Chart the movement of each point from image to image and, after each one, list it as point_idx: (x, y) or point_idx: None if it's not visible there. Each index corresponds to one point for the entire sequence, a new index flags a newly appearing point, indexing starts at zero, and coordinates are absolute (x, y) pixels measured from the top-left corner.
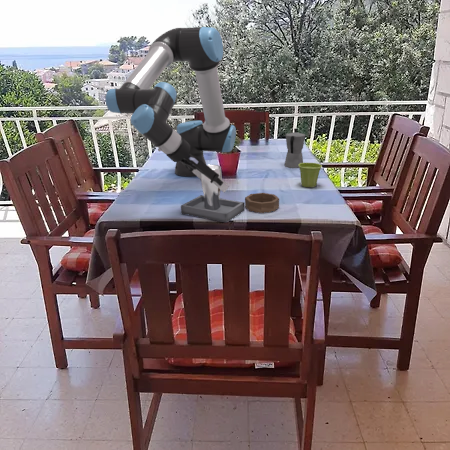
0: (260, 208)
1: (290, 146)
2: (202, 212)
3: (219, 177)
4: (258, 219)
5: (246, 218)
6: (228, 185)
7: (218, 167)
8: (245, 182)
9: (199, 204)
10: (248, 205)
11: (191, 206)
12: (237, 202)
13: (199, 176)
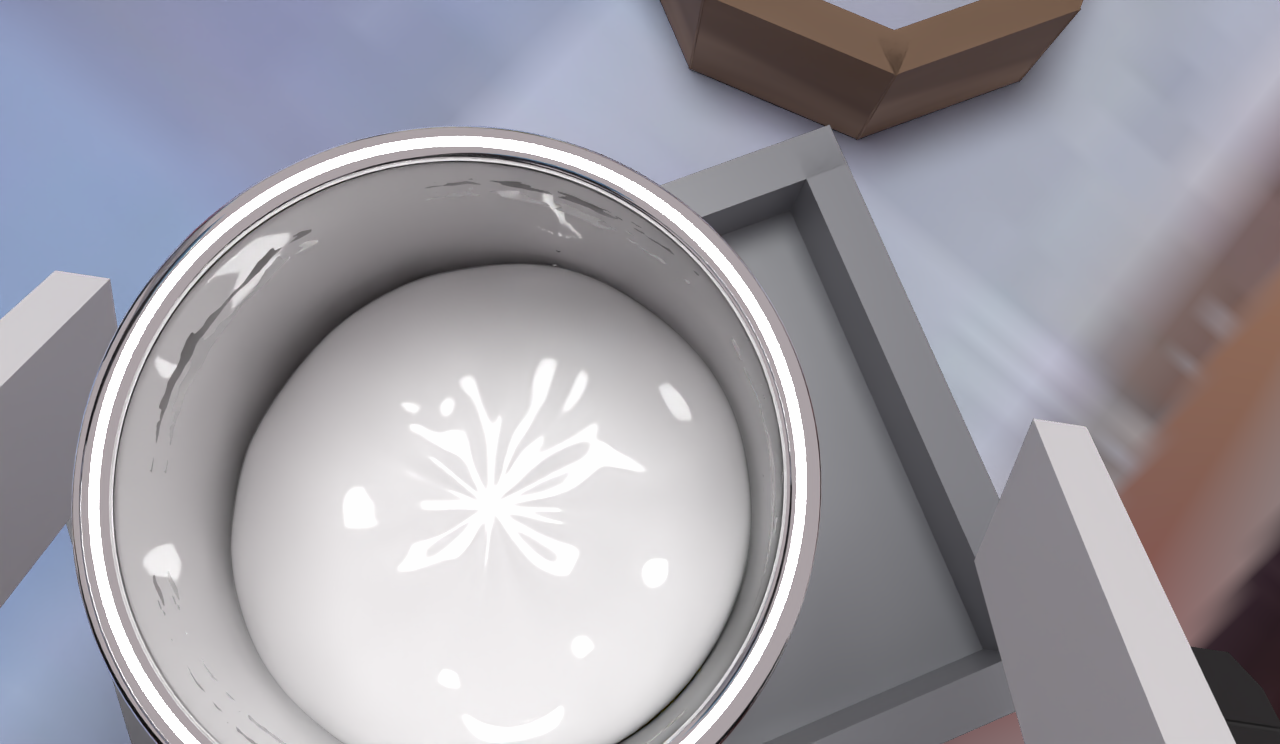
0: (1035, 53)
1: None
2: None
3: (1227, 737)
4: (1177, 259)
5: (1056, 351)
6: (1096, 448)
7: (475, 168)
8: None
9: None
10: (843, 96)
11: None
12: (755, 198)
13: (5, 572)
